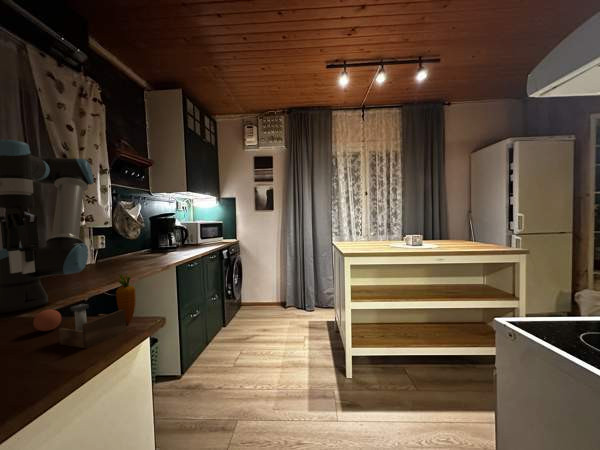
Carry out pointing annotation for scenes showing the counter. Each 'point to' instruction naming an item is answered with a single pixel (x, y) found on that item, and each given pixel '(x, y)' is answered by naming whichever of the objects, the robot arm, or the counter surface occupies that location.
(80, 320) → the pin
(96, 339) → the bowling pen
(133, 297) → the carrot
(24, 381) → the counter surface
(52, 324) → the ball
